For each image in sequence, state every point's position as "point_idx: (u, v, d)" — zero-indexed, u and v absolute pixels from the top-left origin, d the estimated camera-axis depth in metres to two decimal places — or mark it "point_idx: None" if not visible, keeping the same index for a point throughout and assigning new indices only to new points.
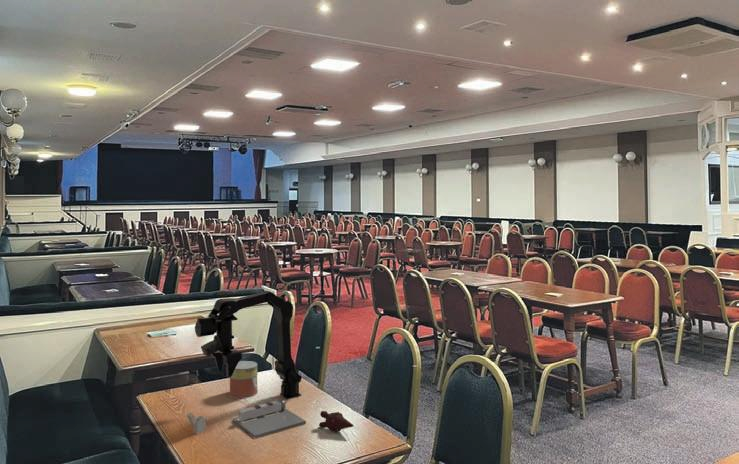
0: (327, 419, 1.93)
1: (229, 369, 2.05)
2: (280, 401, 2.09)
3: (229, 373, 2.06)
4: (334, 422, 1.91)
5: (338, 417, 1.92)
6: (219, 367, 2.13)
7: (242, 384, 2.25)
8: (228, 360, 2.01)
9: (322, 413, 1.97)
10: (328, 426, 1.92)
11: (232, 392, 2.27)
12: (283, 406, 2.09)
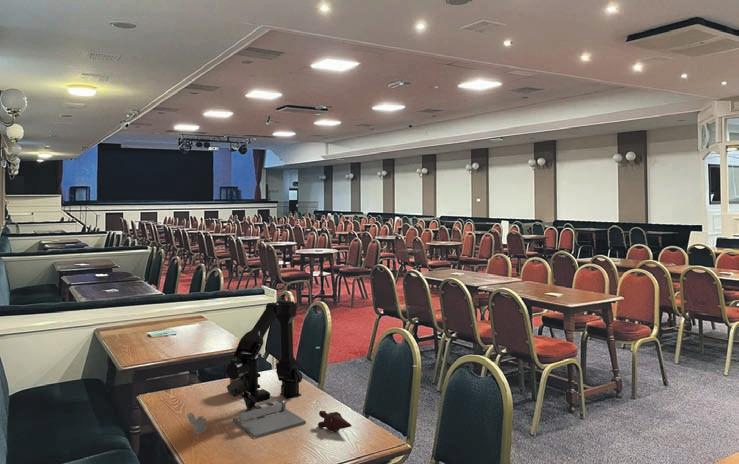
0: (325, 419, 1.93)
1: (250, 405, 2.03)
2: (280, 401, 2.09)
3: None
4: (332, 422, 1.91)
5: (336, 417, 1.92)
6: None
7: None
8: (257, 401, 1.95)
9: (321, 413, 1.97)
10: (326, 426, 1.92)
11: None
12: (283, 406, 2.09)
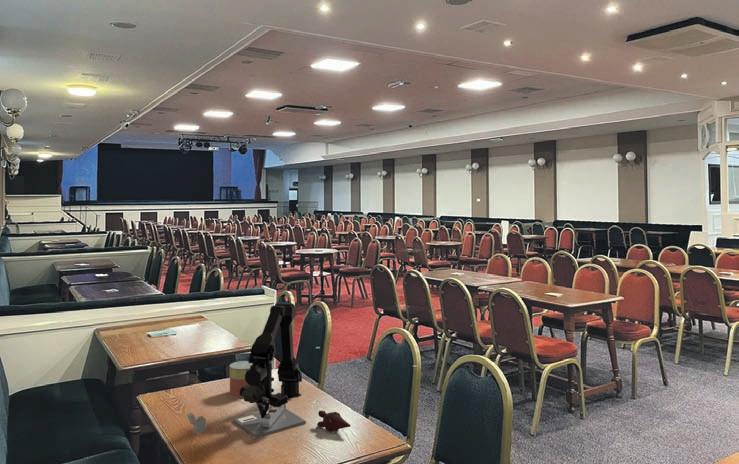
0: (324, 419, 1.93)
1: (264, 410, 1.98)
2: None
3: (263, 414, 1.99)
4: (331, 422, 1.91)
5: (335, 417, 1.92)
6: None
7: (242, 384, 2.25)
8: (277, 405, 1.92)
9: (320, 413, 1.97)
10: (325, 426, 1.92)
11: (232, 392, 2.27)
12: (285, 405, 2.10)
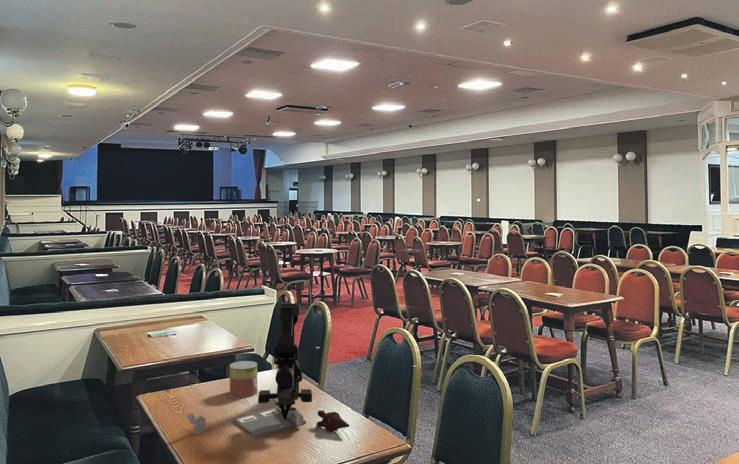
0: (324, 418, 1.93)
1: None
2: None
3: (286, 415, 1.98)
4: (330, 422, 1.92)
5: (334, 417, 1.93)
6: None
7: (242, 384, 2.25)
8: (311, 400, 1.97)
9: (319, 412, 1.97)
10: (324, 426, 1.92)
11: (232, 392, 2.27)
12: None
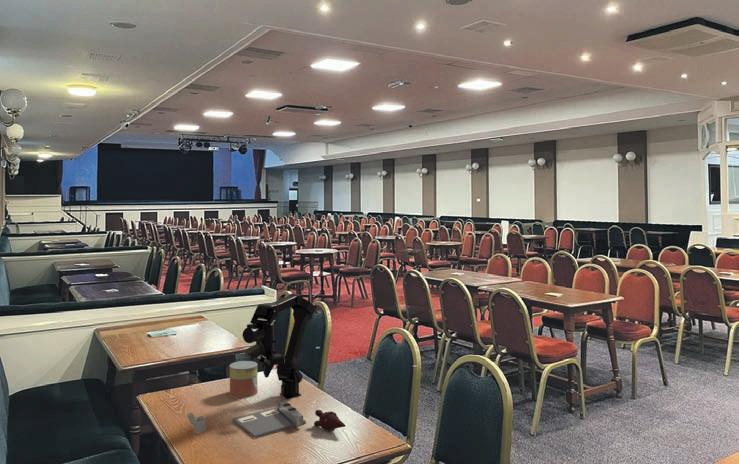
0: (320, 418, 1.94)
1: (266, 369, 2.13)
2: (283, 401, 2.09)
3: (266, 374, 2.13)
4: (327, 421, 1.92)
5: (331, 416, 1.93)
6: None
7: (242, 384, 2.25)
8: (272, 364, 2.05)
9: (317, 412, 1.98)
10: (321, 425, 1.93)
11: (232, 392, 2.27)
12: None
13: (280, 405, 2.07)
